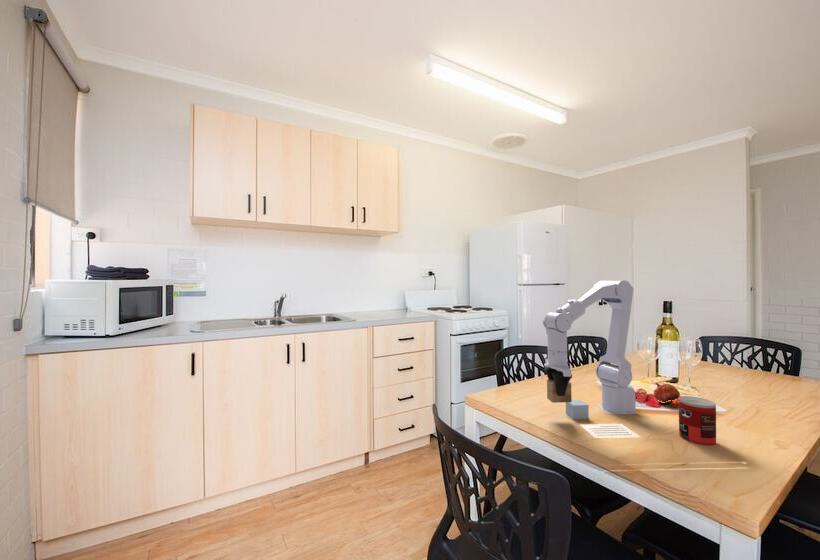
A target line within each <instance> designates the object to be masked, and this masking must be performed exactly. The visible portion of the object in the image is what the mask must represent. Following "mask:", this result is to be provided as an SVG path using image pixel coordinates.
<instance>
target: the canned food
mask: <svg viewBox="0 0 820 560" xmlns="http://www.w3.org/2000/svg"><path fill="white" fill-rule="evenodd" d="M716 405H717V404H716V403H715V402H714V401H712V400H710V399H707V398H703V397H700V396H692V395H684V396H683V395H682V396H679V398H678V435H679V437H681V439H683V440H686V441H688V442H691V443H693V444H698V445H703V446H714V445H716V444H717V406H716Z"/></svg>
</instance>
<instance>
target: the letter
mask: <svg viewBox="0 0 820 560" xmlns="http://www.w3.org/2000/svg"><path fill="white" fill-rule="evenodd" d="M579 426H580V427H581V428H583V429H584V430H585V431H586V432H587V433H588V434H590V435H591V436H592V437H593V438H594V439H617V438H618V439H619V438H620V439H621V438H622V439H623V438H641V436H640V435H639V434H638V433H636V432H634V431H633V430H632V429H630V428H628V427H627V426H625V425H624V424H623V423H590V424H585V423H584V424H579Z"/></svg>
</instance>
